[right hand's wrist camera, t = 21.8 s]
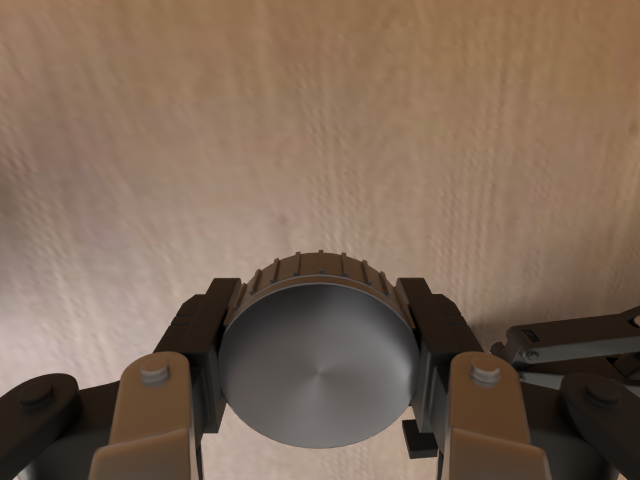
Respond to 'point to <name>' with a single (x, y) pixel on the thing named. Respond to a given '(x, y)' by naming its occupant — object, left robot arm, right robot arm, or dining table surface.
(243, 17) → the dining table surface
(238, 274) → the dining table surface
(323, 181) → the dining table surface
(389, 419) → the lid
